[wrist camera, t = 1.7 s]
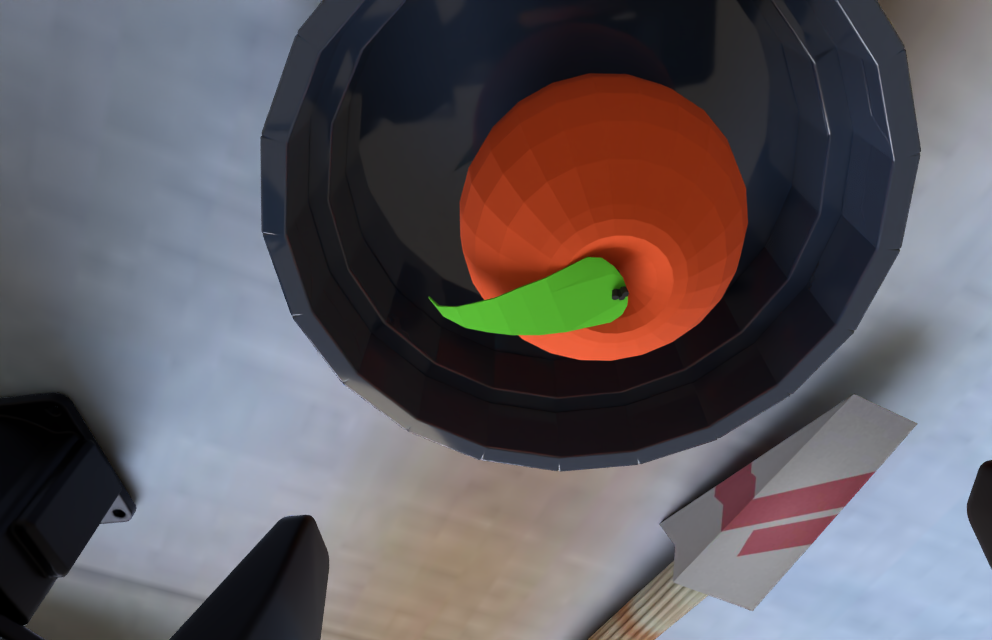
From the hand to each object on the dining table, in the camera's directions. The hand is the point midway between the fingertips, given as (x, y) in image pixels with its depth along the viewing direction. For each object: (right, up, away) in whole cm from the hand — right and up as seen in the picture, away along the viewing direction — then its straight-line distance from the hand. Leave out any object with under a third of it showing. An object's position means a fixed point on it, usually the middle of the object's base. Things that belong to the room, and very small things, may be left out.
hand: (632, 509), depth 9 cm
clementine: (0, +7, +11) cm, 13 cm away
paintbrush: (+7, -7, +20) cm, 22 cm away
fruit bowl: (0, +7, +11) cm, 13 cm away
